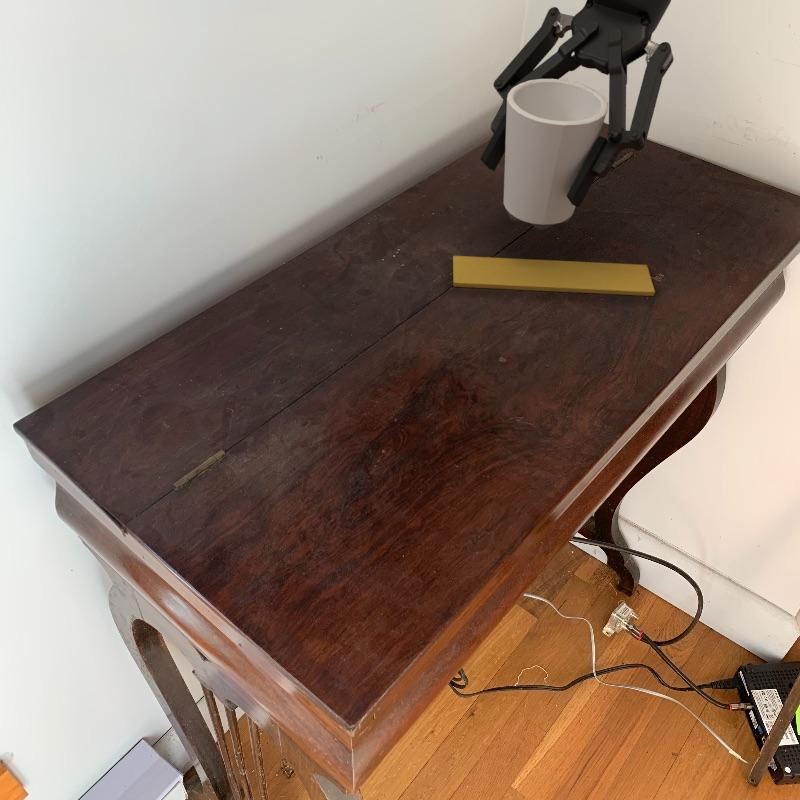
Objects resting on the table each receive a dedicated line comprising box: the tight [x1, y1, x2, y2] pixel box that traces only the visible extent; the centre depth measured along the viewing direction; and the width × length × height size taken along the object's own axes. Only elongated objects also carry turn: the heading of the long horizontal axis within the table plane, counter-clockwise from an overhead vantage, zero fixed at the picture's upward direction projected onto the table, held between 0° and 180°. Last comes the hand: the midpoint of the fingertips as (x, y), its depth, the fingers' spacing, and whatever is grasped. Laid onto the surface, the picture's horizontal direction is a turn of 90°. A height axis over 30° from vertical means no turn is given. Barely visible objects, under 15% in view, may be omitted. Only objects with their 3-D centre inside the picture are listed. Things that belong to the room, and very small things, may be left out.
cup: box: [502, 78, 609, 231], centre depth 83 cm, size 10×10×13 cm
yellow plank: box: [452, 255, 656, 297], centre depth 89 cm, size 22×5×1 cm, turn 88°
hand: (528, 182), depth 82 cm, fingers closed on cup, 10 cm apart
